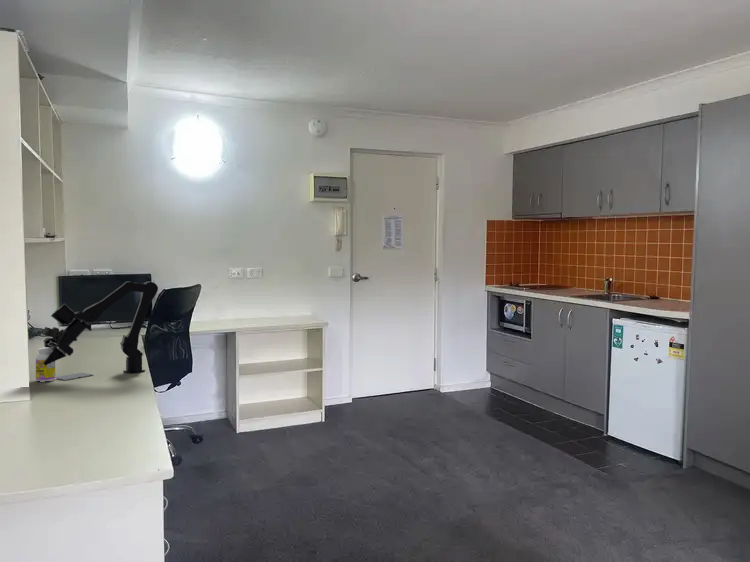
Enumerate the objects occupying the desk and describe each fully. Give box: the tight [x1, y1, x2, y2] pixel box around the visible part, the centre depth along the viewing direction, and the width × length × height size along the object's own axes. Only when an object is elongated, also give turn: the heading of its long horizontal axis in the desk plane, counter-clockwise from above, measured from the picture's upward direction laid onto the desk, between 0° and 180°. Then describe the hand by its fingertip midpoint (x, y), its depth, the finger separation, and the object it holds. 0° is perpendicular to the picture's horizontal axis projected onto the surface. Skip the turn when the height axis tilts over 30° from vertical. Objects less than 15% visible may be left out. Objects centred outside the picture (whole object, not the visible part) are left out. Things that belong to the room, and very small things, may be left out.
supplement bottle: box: [35, 346, 56, 383], centre depth 219 cm, size 7×7×13 cm
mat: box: [55, 372, 94, 381], centre depth 227 cm, size 8×12×1 cm, turn 149°
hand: (41, 363), depth 218 cm, fingers closed on supplement bottle, 7 cm apart
